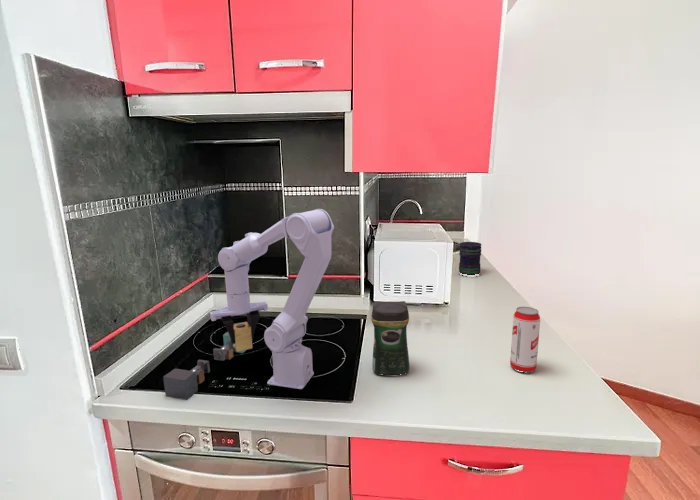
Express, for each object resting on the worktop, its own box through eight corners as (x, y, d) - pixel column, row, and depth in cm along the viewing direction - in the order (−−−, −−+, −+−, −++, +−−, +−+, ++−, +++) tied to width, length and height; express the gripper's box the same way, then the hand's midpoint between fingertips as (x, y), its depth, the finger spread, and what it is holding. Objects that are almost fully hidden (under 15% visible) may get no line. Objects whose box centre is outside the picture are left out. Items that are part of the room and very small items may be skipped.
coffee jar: (407, 362, 108) (408, 297, 104) (410, 377, 100) (411, 307, 96) (371, 362, 109) (371, 297, 105) (371, 377, 101) (371, 307, 97)
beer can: (537, 366, 104) (542, 308, 101) (534, 377, 99) (539, 316, 96) (511, 360, 108) (515, 304, 104) (507, 371, 102) (511, 312, 99)
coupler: (248, 342, 110) (246, 321, 108) (252, 348, 106) (250, 326, 105) (233, 345, 108) (231, 324, 106) (236, 351, 104) (234, 329, 103)
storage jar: (466, 270, 196) (467, 240, 193) (484, 274, 189) (485, 243, 186) (454, 274, 190) (455, 243, 187) (472, 278, 183) (473, 246, 180)
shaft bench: (249, 347, 119) (248, 331, 118) (186, 399, 93) (184, 380, 92) (232, 344, 121) (230, 329, 120) (165, 395, 95) (163, 376, 93)
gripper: (261, 283, 110) (264, 329, 113) (206, 292, 104) (211, 340, 106) (268, 289, 104) (272, 338, 107) (210, 299, 97) (216, 351, 100)
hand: (242, 340), depth 106 cm, fingers closed on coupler, 4 cm apart
